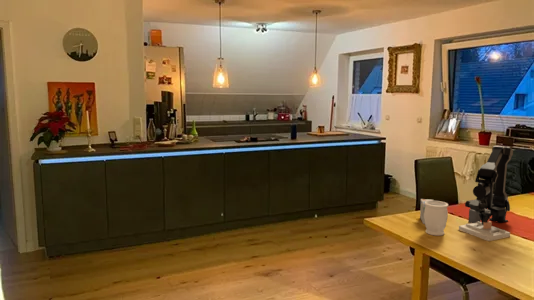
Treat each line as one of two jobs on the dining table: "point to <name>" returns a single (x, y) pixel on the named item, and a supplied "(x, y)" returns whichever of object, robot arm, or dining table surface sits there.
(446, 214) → the jar
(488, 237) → the socket plate
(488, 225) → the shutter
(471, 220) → the plug
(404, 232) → the dining table surface
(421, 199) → the light bulb box
